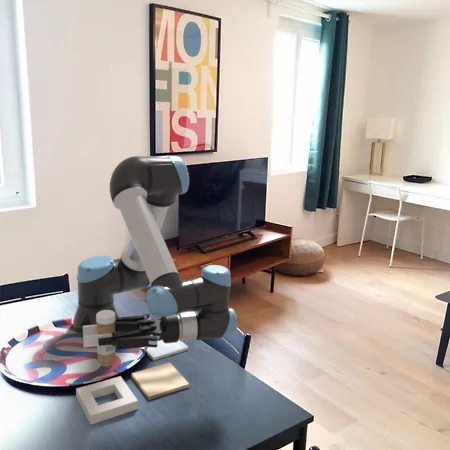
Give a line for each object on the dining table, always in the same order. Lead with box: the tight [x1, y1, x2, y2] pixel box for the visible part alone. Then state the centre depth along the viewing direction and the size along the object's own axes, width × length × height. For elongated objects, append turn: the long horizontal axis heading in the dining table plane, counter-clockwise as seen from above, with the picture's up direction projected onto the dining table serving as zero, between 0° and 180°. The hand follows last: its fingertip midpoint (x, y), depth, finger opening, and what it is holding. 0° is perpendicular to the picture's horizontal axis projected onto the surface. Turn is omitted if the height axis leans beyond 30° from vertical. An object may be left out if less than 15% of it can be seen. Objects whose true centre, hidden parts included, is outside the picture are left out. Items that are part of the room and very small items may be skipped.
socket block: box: [75, 375, 139, 425], centre depth 118 cm, size 12×12×2 cm
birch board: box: [131, 362, 190, 401], centre depth 128 cm, size 12×12×1 cm
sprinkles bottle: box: [96, 310, 116, 367], centre depth 114 cm, size 5×5×13 cm
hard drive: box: [146, 340, 189, 361], centre depth 145 cm, size 2×8×12 cm
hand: (83, 336), depth 112 cm, fingers closed on sprinkles bottle, 4 cm apart
